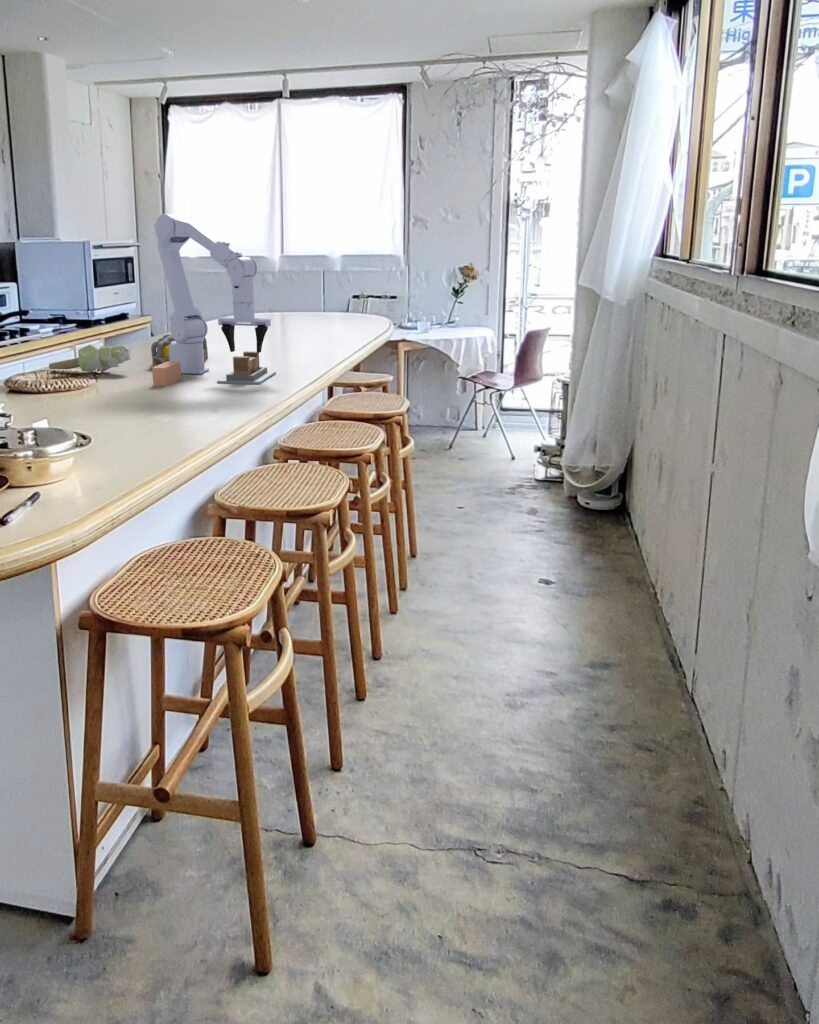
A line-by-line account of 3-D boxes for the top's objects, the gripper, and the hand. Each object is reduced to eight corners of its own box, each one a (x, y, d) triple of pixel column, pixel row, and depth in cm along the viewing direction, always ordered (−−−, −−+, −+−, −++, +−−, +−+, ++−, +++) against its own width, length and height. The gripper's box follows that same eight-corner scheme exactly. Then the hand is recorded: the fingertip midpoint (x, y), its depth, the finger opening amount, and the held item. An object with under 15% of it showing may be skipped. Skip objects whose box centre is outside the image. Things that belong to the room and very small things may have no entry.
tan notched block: (248, 379, 232) (247, 357, 230) (234, 379, 232) (232, 357, 231) (259, 372, 243) (258, 351, 241) (246, 372, 244) (245, 351, 242)
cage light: (146, 343, 248) (164, 332, 276) (148, 370, 251) (166, 356, 279) (196, 343, 249) (209, 332, 278) (198, 370, 252) (210, 356, 280)
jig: (217, 383, 230) (216, 375, 230) (236, 372, 247) (235, 365, 247) (259, 384, 229) (259, 376, 229) (275, 373, 246) (275, 366, 246)
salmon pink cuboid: (166, 386, 226) (164, 368, 224) (153, 386, 226) (151, 367, 224) (181, 379, 237) (180, 361, 236) (169, 378, 237) (167, 361, 236)
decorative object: (41, 372, 240) (120, 357, 236) (45, 345, 244) (123, 329, 240) (59, 389, 248) (136, 374, 244) (62, 362, 252) (139, 347, 248)
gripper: (213, 302, 228) (216, 353, 233) (265, 304, 227) (267, 354, 232) (221, 300, 235) (224, 349, 239) (271, 302, 234) (273, 351, 238)
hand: (245, 351), depth 236 cm, fingers open, 7 cm apart
